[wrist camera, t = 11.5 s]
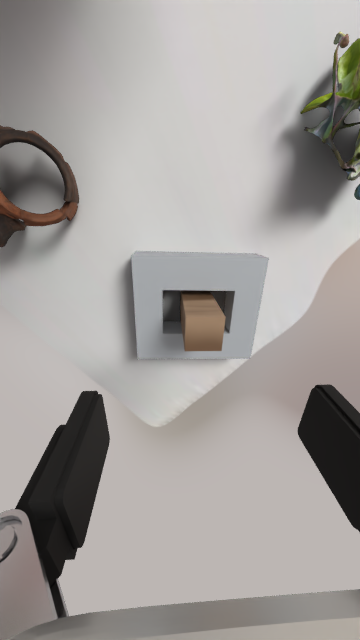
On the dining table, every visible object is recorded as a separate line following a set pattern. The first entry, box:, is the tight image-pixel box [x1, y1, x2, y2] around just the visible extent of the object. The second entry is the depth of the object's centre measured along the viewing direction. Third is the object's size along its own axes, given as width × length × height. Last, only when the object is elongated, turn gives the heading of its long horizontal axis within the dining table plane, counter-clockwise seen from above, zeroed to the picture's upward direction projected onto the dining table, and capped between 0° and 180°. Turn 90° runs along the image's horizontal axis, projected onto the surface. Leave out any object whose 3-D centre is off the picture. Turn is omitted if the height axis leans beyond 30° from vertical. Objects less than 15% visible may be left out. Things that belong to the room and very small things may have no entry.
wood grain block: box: [180, 290, 226, 351], centre depth 27 cm, size 4×4×10 cm
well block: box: [131, 251, 269, 359], centre depth 30 cm, size 14×16×4 cm
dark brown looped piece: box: [0, 126, 79, 247], centre depth 24 cm, size 12×10×8 cm
